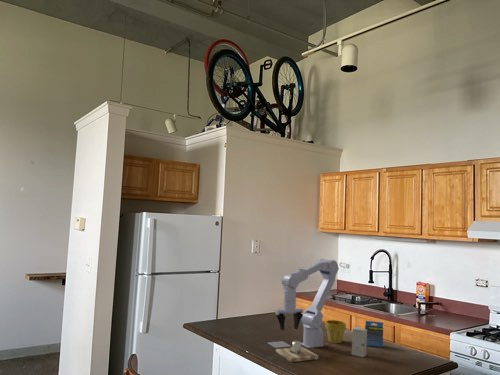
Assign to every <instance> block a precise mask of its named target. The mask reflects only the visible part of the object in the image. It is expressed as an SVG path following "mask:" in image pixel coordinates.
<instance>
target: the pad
mask: <svg viewBox="0 0 500 375" xmlns="http://www.w3.org/2000/svg"><path fill="white" fill-rule="evenodd" d="M267 344H268V345H270V346H271V347H273V348H275V349H280V348H290V347H291V345H290V344H288V343H287V342H285V341H283V340H281V341H271V342H267Z"/></svg>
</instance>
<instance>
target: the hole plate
mask: <svg viewBox="0 0 500 375" xmlns="http://www.w3.org/2000/svg"><path fill="white" fill-rule="evenodd" d="M275 352H276V353H277V354H278V355H280V356H282V357H283V358H284V359H285V360H286V361H288V362H290V363H293V362H302V361H311V360H313V359H314V360H319V354H317V353H314V352H312V351H311V350H308V349H307V348H305V347H303V346H301V354H296V355H294V354H292V347H283V348H275Z"/></svg>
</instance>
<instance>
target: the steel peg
mask: <svg viewBox="0 0 500 375" xmlns="http://www.w3.org/2000/svg"><path fill="white" fill-rule="evenodd" d="M301 343H302V342H301V341H299V340H292V342H291V348H292V354H294V355H296V354H301V347H302V344H301Z"/></svg>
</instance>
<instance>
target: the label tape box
mask: <svg viewBox="0 0 500 375" xmlns="http://www.w3.org/2000/svg"><path fill="white" fill-rule="evenodd" d="M364 329H367V346H368V347H378V348H379V347H380V348H383V347H384V322H381V321H372V320H365V325H364Z"/></svg>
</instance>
